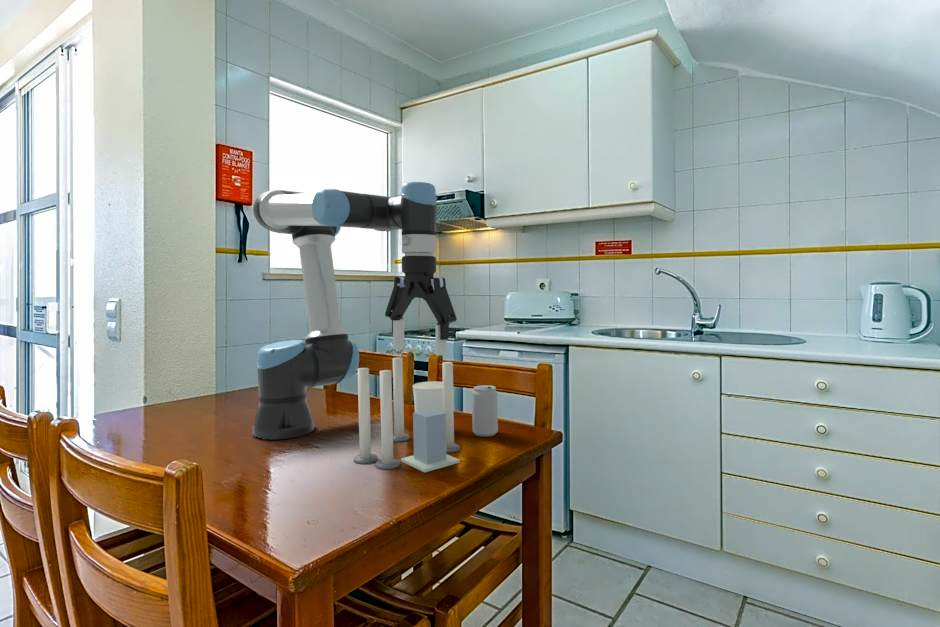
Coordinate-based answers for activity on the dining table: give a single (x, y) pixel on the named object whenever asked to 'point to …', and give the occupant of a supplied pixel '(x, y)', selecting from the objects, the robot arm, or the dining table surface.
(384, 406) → the gate posts
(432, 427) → the block
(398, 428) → the gate posts
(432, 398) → the white cup
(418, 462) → the pad
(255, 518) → the dining table surface
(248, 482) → the dining table surface
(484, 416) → the beverage can
